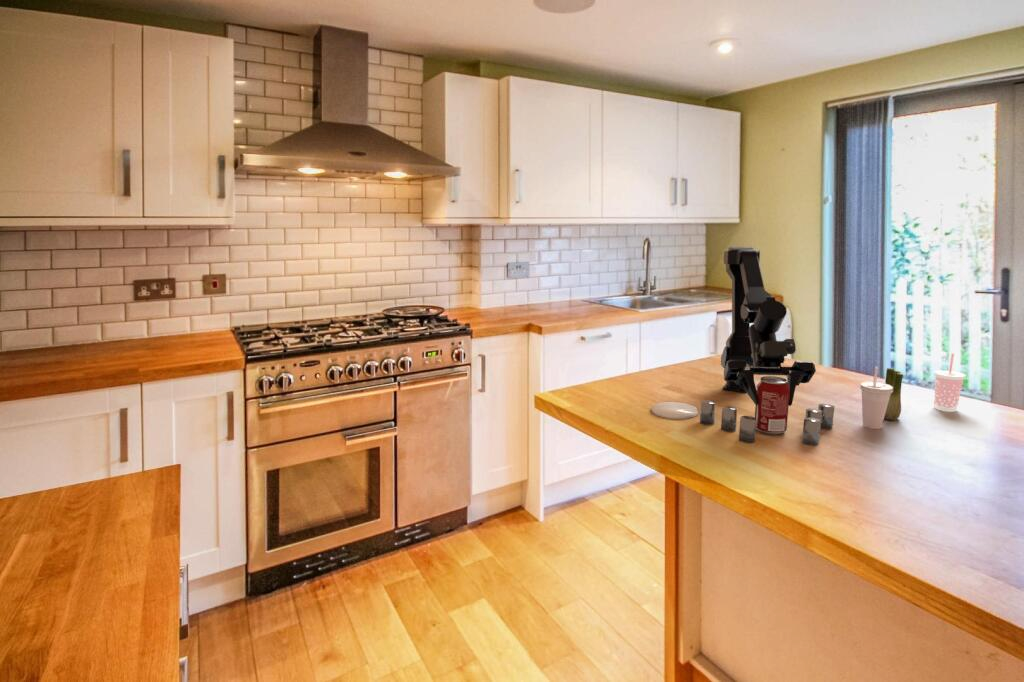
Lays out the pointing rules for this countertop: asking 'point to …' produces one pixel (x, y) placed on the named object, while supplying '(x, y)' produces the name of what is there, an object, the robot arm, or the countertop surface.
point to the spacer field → (748, 423)
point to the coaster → (674, 410)
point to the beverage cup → (948, 389)
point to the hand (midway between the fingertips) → (773, 404)
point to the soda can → (772, 405)
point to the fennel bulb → (893, 394)
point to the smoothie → (874, 402)
